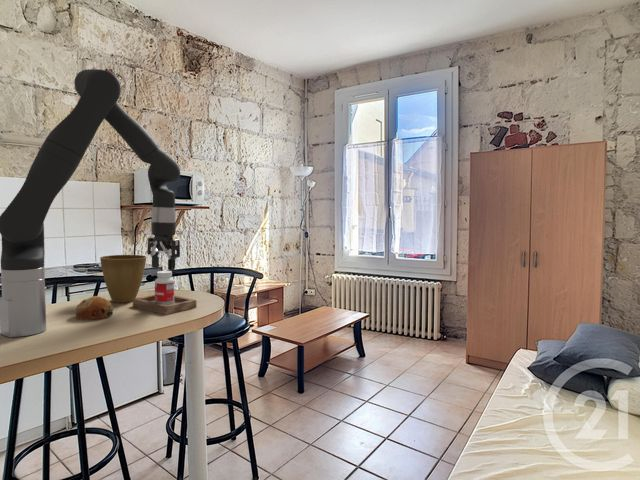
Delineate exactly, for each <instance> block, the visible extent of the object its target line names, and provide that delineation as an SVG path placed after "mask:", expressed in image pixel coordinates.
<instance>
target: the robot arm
mask: <svg viewBox="0 0 640 480" xmlns="http://www.w3.org/2000/svg"><path fill="white" fill-rule="evenodd" d="M73 83H74V89H75V92H76V93H77V95H79V99H78V101H77V103H76V105H75V106H74V108H73V109H72V111H70V113H69V114H68V115H67V116H66V117H64V118H63V120H61V121H60V122H59V123H58V124H57V125H56V126H55V127H54V128H53V129H52V130H51V131H50V132H49V133H48V135H47V136H46V138H45V140H44V142H43V143H42V145H41V147H40V148H39V150H38V152H37V154H36V155H35V158H34V159H33V161H32V164H31V165H30V169H29V170H28V173H27V175H26V177H25V180H24V181H23V182H24V183H23V184H22V186H21V188H19V189H20V190H19V191H18V192H17V194H16V195H15V197H14V198H13V199H12V200H11V201H10V203H9V204H8V206H7V207H6V208H5V210H3V212H2V213H1V215H0V236H1V252H0V253H1V254H0V277H1V278H0V279H1V296H0V334H1V335H3V336H4V337H7V338H16V337H18V338H19V337H26V336H31V335H36V334H37V335H38V334H40V333H42V332H44V331H46V330H47V313H46V312H47V310H46V309H47V307H46V284H45V283H46V280H45V279H46V278H45V276H46V275H45V274H46V273H45V255H46V254H45V224H44V222H45V220H46V217H47V215H48V212H49V211H50V210H49V209H50V208H51V206H52V204H53V202H54V200H55V198H56V197H57V196H58V195H59V193H60V192H61V190H62V189H64V187H65V186H66V185H67V183H68V182H69V180H70V179H71V178H72V176H73V175H74V173H75V171H76V170H77V169H78V167H79V165H80V163H81V162H82V160H83V158H84V156H85V154H86V152H87V149H88V148H89V146H90V144H91V142H92V141H93V139H94V137H95V135H96V133H97V131H98V129H99V128H100V126H101V124H102V123H103V121H106V122H107V123H108V124H109V125H110V126H111V127H112V128H113V130H115V132H116V133H117V134H118V135H119V136H120V137H121V138H122V139H123V140H124V142H125V143H126V144H127V145H128V147H130V149H131V150H132V152H133V153H134V154H135V155H136V156H137V157H138V159H139V160H140V161H141V162H143V163H145V164H148V165H149V164H150V165H149V166H148V169H147V177H148V182H149V185H150V187H149V188H150V190H151V192H152V209H151V210H152V211H151V235H153V236H148V237H147V250H146V251H147V255H149V256H150V257H151V267H152V268H153V269H157V268H159V267H160V254H161V253H162V252H163V253H164V254H165V255H166V257H167V258H168V259H167V271H175V268H176V259H178V258H180V257H181V240H180V239H179V238H178V239H174V238H173V237H174V236H175V235H176V216H177V215H176V214H177V213H176V194H175V192H174V191H173V190H170V189H169V188H168V185H167V183H175V182H177V181H178V180H179V179H180V178H181V170H180V167H179V166H180V165H178V163H177V162H176V161H175V159H173V158H172V157H171V156H170V155H169V154H168V153H167V152H166V151H164V150H163V149H162V148H160V147H159V146H158V144H157V143H156V141H155V140H154V139H153V138H152V136H151V135H150V134H149V133H148V131H147V130H146V129H145V128H144V127H143V126H142V125H141V124H140V123H139V122H137V121H136V120H135V119H134V118H133V117H132V116H131V115H129V114H128V113H127V111H126V110H125V109H124V108H122V106H121V105H120V103H118V100H119V99H120V96H121V93H122V86H121V82H120V80H119V78H118V76H117V75H116V74H114V73H113V72H111V71H110V70H109V71H108V70H105V69H101V68H100V69H98V68H97V69H94V68H93V69H92V68H91V69H83V70H81V71H79V72H78V73H77V74H76V76H75V78H74V82H73Z"/></svg>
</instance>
